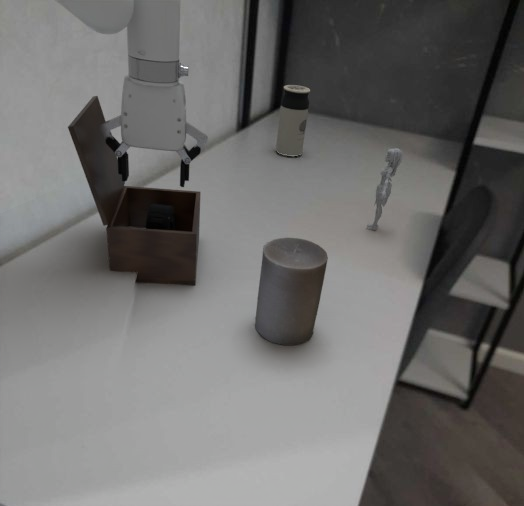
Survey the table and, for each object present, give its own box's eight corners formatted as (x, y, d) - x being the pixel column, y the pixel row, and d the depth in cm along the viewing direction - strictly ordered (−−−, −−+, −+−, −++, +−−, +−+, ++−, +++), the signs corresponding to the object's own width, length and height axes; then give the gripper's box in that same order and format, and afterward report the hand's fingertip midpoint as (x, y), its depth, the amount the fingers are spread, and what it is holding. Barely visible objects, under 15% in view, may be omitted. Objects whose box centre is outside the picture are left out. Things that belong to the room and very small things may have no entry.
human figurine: (370, 217, 124) (389, 139, 113) (386, 220, 123) (406, 143, 112) (362, 237, 115) (382, 154, 104) (379, 241, 114) (401, 158, 103)
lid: (97, 95, 89) (92, 96, 89) (73, 126, 74) (67, 126, 74) (125, 182, 99) (121, 183, 99) (108, 225, 84) (103, 225, 84)
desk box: (199, 238, 106) (200, 191, 100) (195, 285, 92) (196, 234, 86) (126, 233, 105) (123, 185, 99) (110, 280, 90) (106, 228, 84)
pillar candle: (317, 318, 88) (333, 236, 78) (308, 352, 80) (325, 265, 71) (261, 306, 89) (271, 224, 80) (247, 338, 81) (256, 251, 72)
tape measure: (155, 235, 104) (154, 196, 99) (176, 238, 104) (177, 199, 99) (135, 271, 92) (133, 229, 87) (160, 274, 92) (159, 232, 87)
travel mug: (270, 151, 157) (277, 85, 146) (288, 147, 161) (296, 83, 150) (288, 159, 152) (297, 92, 141) (307, 155, 157) (317, 90, 146)
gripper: (211, 73, 83) (205, 178, 93) (99, 59, 81) (106, 169, 91) (210, 82, 77) (204, 194, 87) (90, 68, 75) (98, 184, 85)
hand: (154, 181), depth 89 cm, fingers open, 9 cm apart
